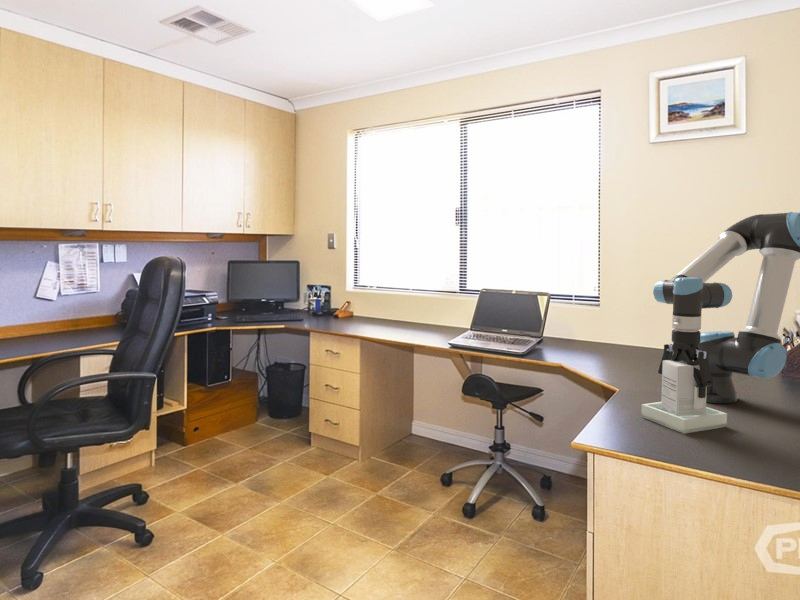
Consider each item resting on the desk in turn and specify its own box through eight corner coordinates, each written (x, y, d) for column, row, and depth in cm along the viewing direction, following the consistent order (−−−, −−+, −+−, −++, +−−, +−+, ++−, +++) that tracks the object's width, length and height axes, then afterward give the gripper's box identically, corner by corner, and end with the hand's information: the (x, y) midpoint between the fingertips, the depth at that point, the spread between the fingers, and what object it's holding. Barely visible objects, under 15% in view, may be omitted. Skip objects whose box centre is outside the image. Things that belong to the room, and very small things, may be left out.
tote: (681, 411, 170) (681, 398, 170) (726, 426, 155) (727, 413, 155) (641, 416, 165) (641, 404, 165) (683, 433, 150) (684, 419, 149)
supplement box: (688, 406, 164) (690, 358, 163) (706, 415, 155) (708, 365, 154) (659, 407, 164) (661, 359, 162) (676, 416, 155) (678, 366, 154)
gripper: (646, 325, 167) (644, 394, 169) (709, 336, 145) (706, 415, 147) (665, 324, 169) (663, 392, 171) (730, 334, 148) (726, 412, 150)
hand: (683, 403), depth 159 cm, fingers closed on supplement box, 10 cm apart
